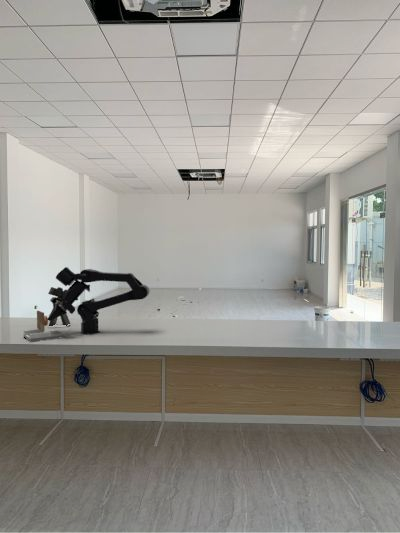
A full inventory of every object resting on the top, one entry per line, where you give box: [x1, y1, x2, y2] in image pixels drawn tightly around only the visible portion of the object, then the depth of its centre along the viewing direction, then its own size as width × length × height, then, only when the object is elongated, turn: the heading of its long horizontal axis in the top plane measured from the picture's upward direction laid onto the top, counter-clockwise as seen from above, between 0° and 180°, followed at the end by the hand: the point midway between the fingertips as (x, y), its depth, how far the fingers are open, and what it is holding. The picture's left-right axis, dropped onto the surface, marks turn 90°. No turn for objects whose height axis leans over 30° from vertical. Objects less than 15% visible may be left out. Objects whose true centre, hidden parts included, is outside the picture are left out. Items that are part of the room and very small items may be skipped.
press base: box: [23, 328, 66, 343], centre depth 167 cm, size 14×11×3 cm
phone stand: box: [48, 313, 71, 326], centre depth 192 cm, size 9×6×12 cm, turn 92°
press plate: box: [36, 310, 49, 332], centre depth 167 cm, size 3×8×8 cm, turn 37°
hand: (48, 320), depth 169 cm, fingers closed
